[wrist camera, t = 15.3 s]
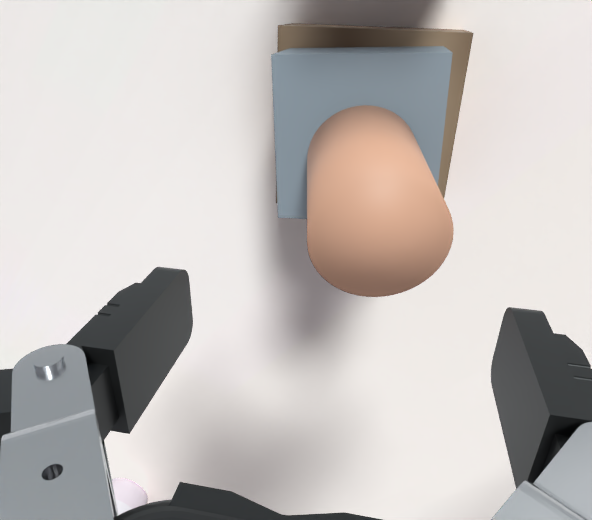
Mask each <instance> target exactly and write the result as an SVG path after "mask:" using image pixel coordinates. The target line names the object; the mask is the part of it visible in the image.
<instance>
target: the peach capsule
mask: <svg viewBox="0 0 592 520" xmlns="http://www.w3.org/2000/svg"><path fill="white" fill-rule="evenodd" d="M452 240H453V222H452V217H451V214H450V212H449V209H448V207H447V205H446V203H445V201H444V199H443V196H442V194H441V192H440V190H439V188H438V186H437V184H436V182H435V179H434V177H433V175H432V173H431V171H430V169H429V167H428V164H427V162H426V160H425V158H424V156H423V154H422V152H421V149H420V147H419V145H418V143H417V141H416V139H415V137H414V135H413V132H412V131H411V129H410V127H409V126H408V125H407V123H406V122H405V121H404V120H403V119H402V118H401V117H400V116H398V115H397V114H395V113H394V112H392V111H390V110H387V109H385V108H382V107H378V106H371V105H362V106H354V107H350V108H347V109H344V110H341V111H339V112H337V113H336V114H334V115H332V116H331V117H329V118H328V119H327V120H326V121H325V122H324V123H323V124H322V125H321V126H320V127H319V128H318V129H317V131H316V132H315V134H314V136H313V138H312V140H311V142H310V145H309V148H308V154H307V246H308V252H309V256H310V259H311V261H312V263H313V265H314V267H315V269H316V270H317V272H318V273H319V274H320V275H321V276H322V277H323V278H324V279H325V280H326V281H327V282H328V283H330V284H331V285H333V286H334V287H336V288H338V289H340V290H342V291H345V292H348V293H351V294H355V295H359V296H366V297H380V296H389V295H394V294H398V293H401V292H404V291H407V290H409V289H411V288H413V287H415V286H417V285H419V284H421V283H422V282H424V281H425V280H427V279H428V278H429V277H430V276H432V275H433V274H434V273H435V272H436V271H437V270H438V268H439V267H440V266H441V265H442V263H443V262H444V260H445V258H446V257H447V255H448V253H449V250H450V248H451V244H452Z"/></svg>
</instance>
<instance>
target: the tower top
mask: <svg viewBox="0 0 592 520" xmlns="http://www.w3.org/2000/svg"><path fill="white" fill-rule="evenodd" d="M452 54H453V53H452V52H451V51H450V50H448V49H447V48H446V47H444V46H413V47H336V48H289V49H286V50H283V51H280V52H277V53H275V54H272V55H271V59H272V83H273V107H274V131H275V155H276V179H277V203H278V218H299V219H307V154H308V148H309V145H310V142H311V140H312V138H313V136H314V134H315V132H316V131H317V129H318V128H319V127H320V126H321V125H322V124H323V123H324V122H325V121H326V120H327V119H328V118H329V117H331V116H332V115H334V114H336V113H337V112H339V111H341V110H344V109H347V108H350V107H354V106H362V105H371V106H378V107H382V108H385V109H387V110H390V111H392V112H394V113H395V114H397V115H398V116H400V117H401V118H402V119H403V120H404V121H405V122H406V123H407V125H408V126H409V127H410V129H411V131H412V132H413V135H414V137H415V139H416V141H417V143H418V145H419V147H420V149H421V152H422V154H423V156H424V158H425V160H426V162H427V164H428V167H429V169H430V171H431V173H432V175H433V177H434V179H435V182H436V184H437V186H438V180H439V171H440V162H441V153H442V144H443V135H444V126H445V117H446V108H447V99H448V90H449V81H450V72H451V63H452Z"/></svg>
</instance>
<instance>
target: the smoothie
mask: <svg viewBox="0 0 592 520" xmlns="http://www.w3.org/2000/svg"><path fill="white" fill-rule="evenodd" d="M112 484H113V489H114V495H115V500H116V505H117V510H118V515H120V514H122V513H124V512H126V511H128V510H131V509H133V508H136V507H138V506H142V505H145V504H146V503H147V499H148V497H147V494H146V492H145V490H144V489H143V488H142V487H141V486H140V485H139V484H137V483H136V482H134V481H132V480H129V479H126V478H115V479H112Z"/></svg>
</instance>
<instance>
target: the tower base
mask: <svg viewBox="0 0 592 520" xmlns="http://www.w3.org/2000/svg"><path fill="white" fill-rule="evenodd" d="M472 37H473V33H472V32H469V31H466V30H453V29H427V28H400V27H374V26H348V25H322V24H295V23H292V24H285V25H278V52H280V51H283V50H286V49H289V48H336V47H413V46H444V47H446V48H447V49H448V50H450V51H451V52H452V53H453V54H452V63H451V72H450V81H449V90H448V99H447V108H446V117H445V126H444V135H443V144H442V153H441V162H440V171H439V180H438V188H439V190H440V192H441V194H442V196H443V199H444V196H445V190H446V184H447V179H448V173H449V167H450V162H451V156H452V150H453V145H454V139H455V133H456V128H457V122H458V116H459V111H460V105H461V99H462V94H463V88H464V82H465V77H466V71H467V66H468V60H469V54H470V49H471V43H472ZM276 203H277V179H276Z"/></svg>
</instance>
